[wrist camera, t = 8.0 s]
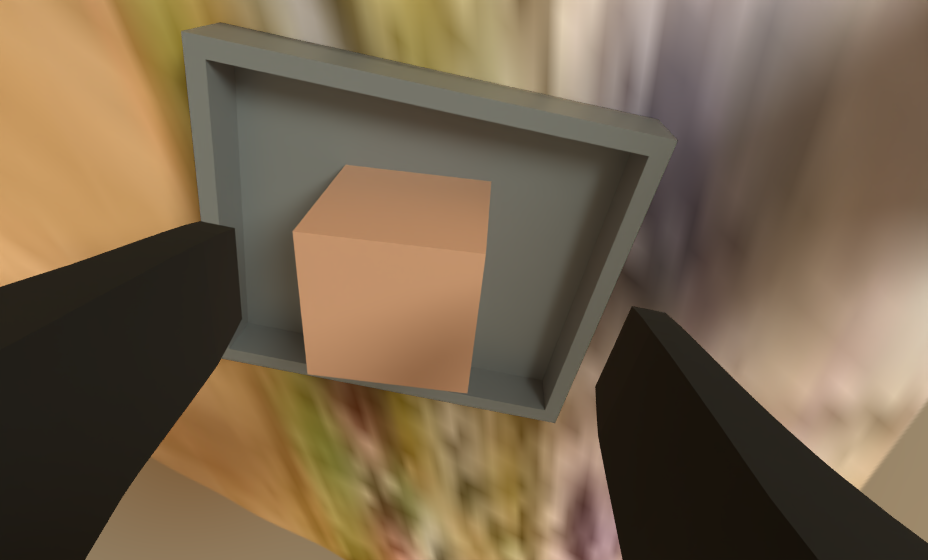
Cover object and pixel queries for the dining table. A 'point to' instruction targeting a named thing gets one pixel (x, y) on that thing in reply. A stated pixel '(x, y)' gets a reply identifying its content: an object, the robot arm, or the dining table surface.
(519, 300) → the tray
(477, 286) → the terracotta block
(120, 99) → the dining table surface
